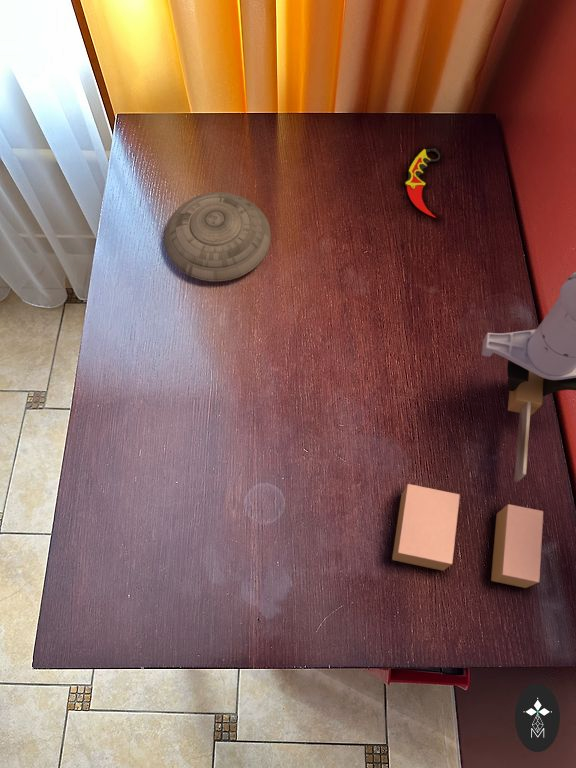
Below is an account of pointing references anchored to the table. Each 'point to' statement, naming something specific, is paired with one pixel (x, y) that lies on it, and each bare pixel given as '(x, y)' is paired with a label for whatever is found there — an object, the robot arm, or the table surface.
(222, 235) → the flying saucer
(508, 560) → the light tan rectangular block
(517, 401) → the chisel
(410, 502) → the pink rectangular block
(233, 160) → the table surface
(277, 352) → the table surface
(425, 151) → the knife
